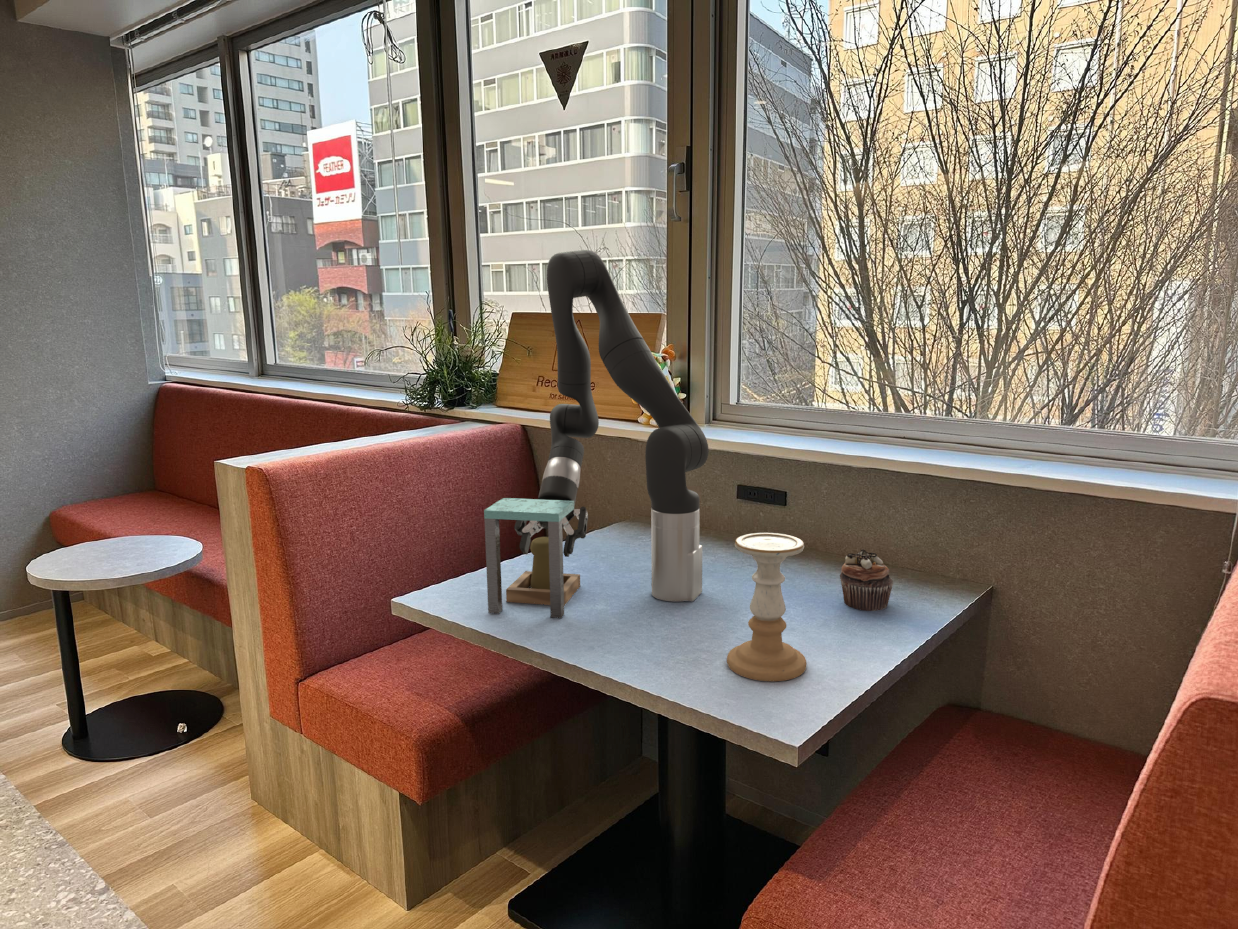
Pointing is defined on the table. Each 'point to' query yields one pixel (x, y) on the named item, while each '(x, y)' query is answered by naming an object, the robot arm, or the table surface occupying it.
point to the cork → (540, 563)
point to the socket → (539, 590)
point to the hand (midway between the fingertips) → (545, 553)
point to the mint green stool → (554, 515)
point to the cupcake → (865, 582)
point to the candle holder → (767, 612)
